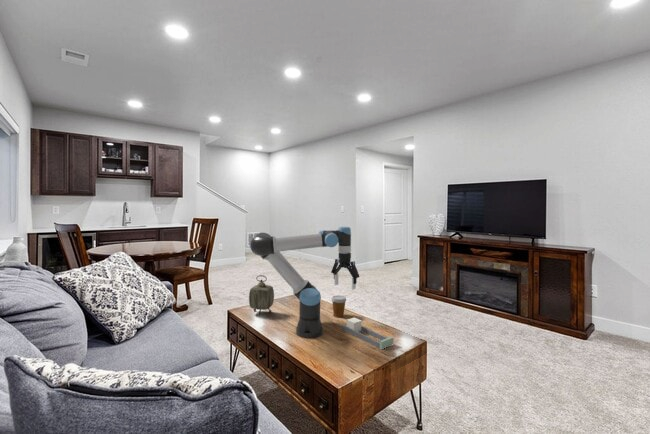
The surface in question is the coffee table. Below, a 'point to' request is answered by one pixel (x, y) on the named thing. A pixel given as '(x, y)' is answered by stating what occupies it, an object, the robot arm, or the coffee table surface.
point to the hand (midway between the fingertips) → (344, 286)
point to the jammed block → (354, 324)
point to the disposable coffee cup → (338, 305)
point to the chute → (383, 343)
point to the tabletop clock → (261, 296)
